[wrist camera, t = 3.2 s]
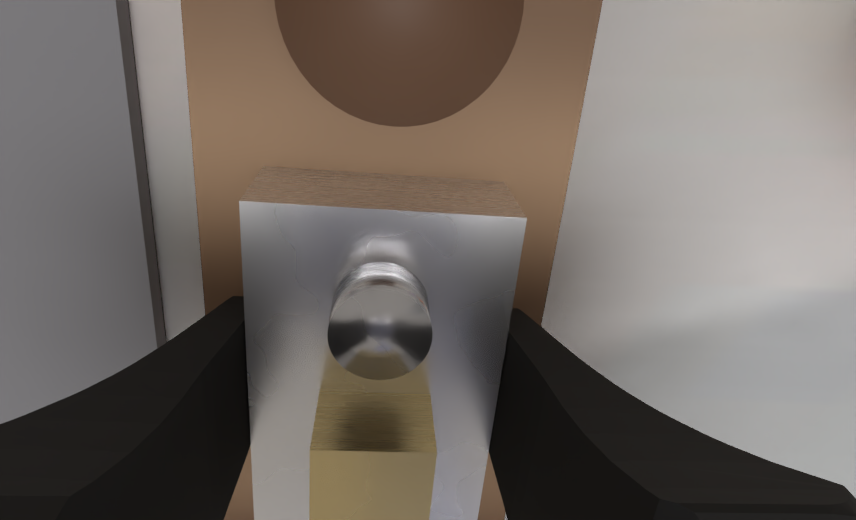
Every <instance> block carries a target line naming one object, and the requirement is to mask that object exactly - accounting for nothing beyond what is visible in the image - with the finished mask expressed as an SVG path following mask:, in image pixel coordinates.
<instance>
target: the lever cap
mask: <svg viewBox="0 0 856 520" xmlns="http://www.w3.org/2000/svg"><path fill="white" fill-rule="evenodd" d="M239 212H240V233H241V254H242V275H243V296H244V317H245V338H246V359H247V380H248V401H249V422H250V443H251V464H252V485H253V506H254V520H477V519H478V513H479V507H480V501H481V495H482V489H483V483H484V477H485V471H486V465H487V458H488V452H489V446H490V440H491V434H492V428H493V422H494V416H495V410H496V404H497V398H498V392H499V386H500V379H501V373H502V367H503V361H504V355H505V349H506V343H507V337H508V331H509V325H510V319H511V313H512V307H513V300H514V294H515V288H516V282H517V276H518V270H519V264H520V258H521V252H522V246H523V240H524V234H525V228H526V221H527V217H526V216H525V214H524V212H523V211H522V209H521V208H520V206H519V205H518V203H517V201H516V200H515V198H514V197H513V195H512V194H511V192H510V191H509V189H508V187H507V186H506V184H505V183H504V182H499V181H484V180H469V179H453V178H438V177H422V176H407V175H391V174H376V173H361V172H345V171H330V170H314V169H299V168H283V167H268V166H263V168H262V169H261V171H260V172H259V173H258V175H257V176H256V178H255V179H254V181H253V182H252V183H251V185H250V186H249V188H248V189H247V190H246V192H245V193H244V195H243V196H242V197H241V199H240V200H239Z"/></svg>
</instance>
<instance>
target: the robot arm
mask: <svg viewBox="0 0 856 520" xmlns="http://www.w3.org/2000/svg"><path fill="white" fill-rule="evenodd" d="M250 446H251V443H250V422H249V401H248V380H247V359H246V338H245V317H244V296H232V297H231V298H229V299H228V300H226V301H225V302H223V303H222V304H220V305H219V306H218V307H216V308H215V309H214V310H212V311H211V312H210V313H208V314H207V315H205V316H204V317H203V318H201V319H200V320H199V321H197V322H196V323H194V324H193V325H192V326H190V327H189V328H187V329H186V330H184V331H183V332H182V333H180V334H179V335H177V336H176V337H175V338H173V339H172V340H170V341H168V342H167V343H165V344H164V345H162V346H160V347H159V348H157V349H156V350H154V351H153V352H151V353H149V354H148V355H146V356H145V357H143V358H141V359H140V360H138V361H137V362H135V363H133V364H132V365H130V366H128V367H126V368H125V369H123V370H121V371H119V372H117V373H116V374H114V375H112V376H110V377H108V378H106V379H104V380H102V381H100V382H98V383H96V384H94V385H92V386H90V387H88V388H86V389H84V390H82V391H80V392H78V393H76V394H73V395H71V396H69V397H66V398H64V399H62V400H59V401H57V402H54V403H52V404H50V405H47V406H45V407H42V408H40V409H38V410H35V411H33V412H31V413H28V414H26V415H23V416H21V417H18V418H16V419H13V420H10V421H7V422H5V423H2V424H0V520H224V517H225V515H226V512H227V509H228V506H229V504H230V501H231V498H232V495H233V493H234V490H235V487H236V484H237V482H238V479H239V476H240V473H241V471H242V468H243V465H244V462H245V460H246V457H247V454H248V451H249V448H250ZM489 454H490V458H491V462H492V465H493V469H494V472H495V476H496V479H497V483H498V487H499V490H500V494H501V497H502V501H503V504H504V508H505V511H506V515H507V519H508V520H856V498H855V497H854V496H853V495H852V494H851V493H850V492H849V491H848V490H847V489H846V488H845V487H844V486H843V485H840V484H837V483H834V482H831V481H828V480H825V479H822V478H819V477H816V476H812V475H809V474H806V473H803V472H800V471H797V470H794V469H791V468H788V467H785V466H782V465H779V464H776V463H773V462H770V461H768V460H765V459H763V458H760V457H758V456H755V455H753V454H750V453H748V452H745V451H743V450H740V449H738V448H735V447H733V446H730V445H728V444H725V443H723V442H721V441H719V440H716V439H714V438H712V437H710V436H707V435H705V434H703V433H701V432H699V431H697V430H695V429H693V428H691V427H689V426H687V425H685V424H683V423H681V422H679V421H677V420H675V419H673V418H671V417H669V416H667V415H665V414H663V413H661V412H659V411H658V410H656V409H654V408H652V407H651V406H649V405H647V404H646V403H644V402H642V401H641V400H639V399H637V398H636V397H634V396H632V395H631V394H629V393H627V392H626V391H624V390H623V389H621V388H620V387H618V386H617V385H615V384H614V383H612V382H611V381H609V380H608V379H606V378H605V377H604V376H602V375H601V374H599V373H598V372H597V371H595V370H594V369H592V368H591V367H590V366H588V365H587V364H586V363H585V362H583V361H582V360H581V359H579V358H578V357H577V356H575V355H574V354H573V353H572V352H570V351H569V350H568V349H567V348H566V347H564V346H563V345H562V344H561V343H560V342H558V341H557V340H556V339H555V338H554V337H552V336H551V335H550V334H549V333H548V332H547V331H545V330H544V329H543V328H542V327H541V326H540V325H538V324H537V323H536V322H535V321H534V320H532V319H531V318H530V317H529V316H528V315H526V314H525V313H524V312H523V311H521V310H520V309H518V308H512V313H511V319H510V325H509V331H508V337H507V343H506V349H505V355H504V361H503V367H502V373H501V379H500V386H499V392H498V398H497V404H496V410H495V416H494V422H493V428H492V434H491V440H490V446H489Z"/></svg>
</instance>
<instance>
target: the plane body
mask: <svg viewBox="0 0 856 520" xmlns="http://www.w3.org/2000/svg"><path fill="white" fill-rule="evenodd" d="M602 1H603V0H181V10H182V23H183V36H184V49H185V61H186V74H187V87H188V99H189V112H190V125H191V138H192V150H193V163H194V176H195V189H196V201H197V214H198V227H199V239H200V252H201V265H202V278H203V290H204V303H205V315H207V314H208V313H210V312H211V311H212V310H214V309H215V308H216V307H218V306H219V305H220V304H222V303H223V302H225V301H226V300H228V299H229V298H231V297H232V296H243V275H242V254H241V233H240V212H239V200H240V199H241V197H242V196H243V195H244V193H245V192H246V190H247V189H248V188H249V186H250V185H251V183H252V182H253V181H254V179H255V178H256V176H257V175H258V173H259V172H260V171H261V169H262V168H263V166H268V167H283V168H299V169H314V170H330V171H345V172H361V173H376V174H391V175H407V176H422V177H438V178H453V179H469V180H484V181H499V182H504V183H505V184H506V186H507V187H508V189H509V191H510V192H511V194H512V195H513V197H514V198H515V200H516V201H517V203H518V205H519V206H520V208H521V209H522V211H523V212H524V214H525V216H526V217H527V221H526V228H525V234H524V240H523V246H522V252H521V258H520V264H519V270H518V276H517V282H516V288H515V294H514V300H513V307H512V308H518V309H520V310H521V311H523V312H524V313H525V314H526V315H528V316H529V317H530V318H531V319H532V320H534V321H535V322H536V323H537V324H538V325H540V326H541V322H542V317H543V312H544V307H545V301H546V296H547V291H548V285H549V280H550V275H551V270H552V264H553V259H554V254H555V249H556V243H557V238H558V233H559V228H560V222H561V217H562V212H563V206H564V201H565V196H566V191H567V185H568V180H569V175H570V170H571V164H572V159H573V154H574V149H575V143H576V138H577V133H578V127H579V122H580V117H581V112H582V106H583V101H584V96H585V91H586V85H587V80H588V75H589V70H590V64H591V59H592V54H593V48H594V43H595V38H596V33H597V27H598V22H599V17H600V12H601V6H602ZM505 512H506V511H505V508H504V504H503V501H502V497H501V494H500V490H499V487H498V483H497V479H496V476H495V472H494V469H493V465H492V462H491V458H490V454H489V452H488V458H487V465H486V471H485V477H484V483H483V489H482V495H481V501H480V507H479V513H478V519H477V520H504V517H505ZM224 520H254V506H253V485H252V464H251V446H250V448H249V451H248V454H247V457H246V460H245V462H244V465H243V468H242V471H241V473H240V476H239V479H238V482H237V484H236V487H235V490H234V493H233V495H232V498H231V501H230V504H229V506H228V509H227V512H226V515H225V517H224Z"/></svg>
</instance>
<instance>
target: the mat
mask: <svg viewBox="0 0 856 520" xmlns="http://www.w3.org/2000/svg"><path fill="white" fill-rule="evenodd" d="M165 343H166V337H165V328H164V319H163V311H162V302H161V293H160V284H159V275H158V266H157V257H156V248H155V239H154V230H153V222H152V213H151V204H150V195H149V186H148V177H147V168H146V159H145V150H144V141H143V133H142V124H141V115H140V106H139V97H138V88H137V79H136V70H135V61H134V52H133V43H132V35H131V26H130V17H129V8H128V0H0V424H2V423H5V422H7V421H10V420H13V419H16V418H18V417H21V416H23V415H26V414H28V413H31V412H33V411H35V410H38V409H40V408H42V407H45V406H47V405H50V404H52V403H54V402H57V401H59V400H62V399H64V398H66V397H69V396H71V395H73V394H76V393H78V392H80V391H82V390H84V389H86V388H88V387H90V386H92V385H94V384H96V383H98V382H100V381H102V380H104V379H106V378H108V377H110V376H112V375H114V374H116V373H117V372H119V371H121V370H123V369H125V368H126V367H128V366H130V365H132V364H133V363H135V362H137V361H138V360H140V359H141V358H143V357H145V356H146V355H148V354H149V353H151V352H153V351H154V350H156V349H157V348H159V347H160V346H162V345H164V344H165Z"/></svg>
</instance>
